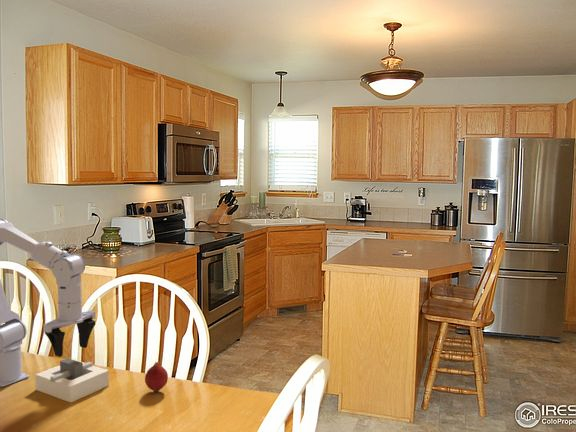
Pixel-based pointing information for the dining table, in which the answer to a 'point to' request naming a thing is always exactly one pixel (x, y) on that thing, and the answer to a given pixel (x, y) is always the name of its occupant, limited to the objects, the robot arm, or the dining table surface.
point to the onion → (156, 377)
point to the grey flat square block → (72, 368)
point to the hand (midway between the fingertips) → (71, 351)
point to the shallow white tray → (72, 382)
